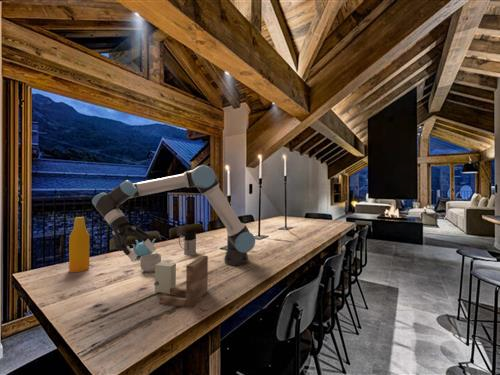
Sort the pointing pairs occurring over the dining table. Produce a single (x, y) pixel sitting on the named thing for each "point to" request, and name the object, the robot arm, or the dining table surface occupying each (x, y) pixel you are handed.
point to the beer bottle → (79, 246)
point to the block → (165, 277)
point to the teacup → (150, 262)
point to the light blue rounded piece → (141, 248)
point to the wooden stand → (190, 285)
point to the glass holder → (189, 243)
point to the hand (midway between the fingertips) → (145, 254)
